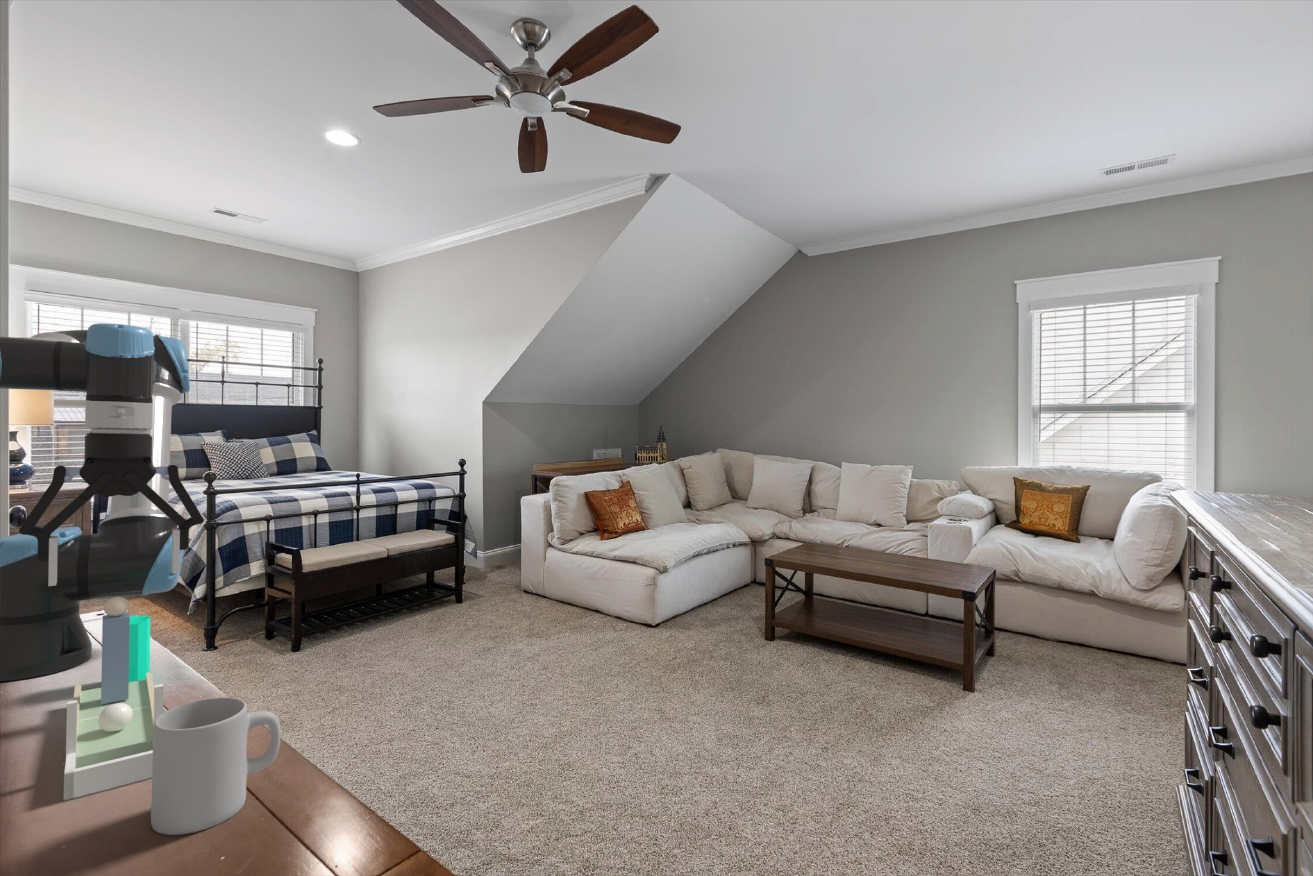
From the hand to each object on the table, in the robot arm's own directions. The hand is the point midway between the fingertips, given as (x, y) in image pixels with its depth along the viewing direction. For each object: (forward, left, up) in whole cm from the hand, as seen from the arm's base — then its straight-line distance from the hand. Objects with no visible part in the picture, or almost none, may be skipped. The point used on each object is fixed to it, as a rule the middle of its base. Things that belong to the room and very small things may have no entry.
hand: (116, 577), depth 93 cm
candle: (-13, +2, -20) cm, 24 cm away
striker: (0, 0, -18) cm, 18 cm away
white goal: (+21, 0, -20) cm, 29 cm away
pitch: (+5, 0, -20) cm, 21 cm away
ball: (+12, 0, -16) cm, 20 cm away
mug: (+36, +9, -20) cm, 42 cm away
